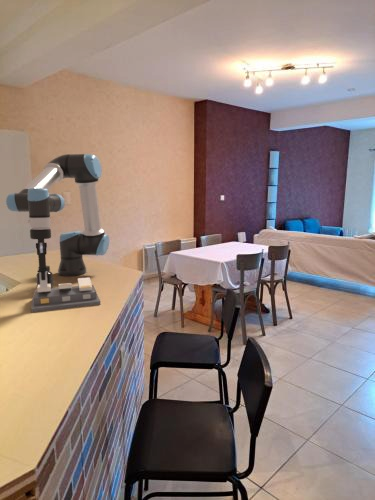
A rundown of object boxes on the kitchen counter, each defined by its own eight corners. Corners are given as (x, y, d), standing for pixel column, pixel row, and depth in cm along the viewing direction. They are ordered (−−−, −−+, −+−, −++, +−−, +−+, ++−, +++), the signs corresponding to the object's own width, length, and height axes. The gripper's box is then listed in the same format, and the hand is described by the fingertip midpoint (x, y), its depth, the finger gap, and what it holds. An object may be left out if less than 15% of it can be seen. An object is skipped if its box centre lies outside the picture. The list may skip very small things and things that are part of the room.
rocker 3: (77, 281, 152) (77, 278, 151) (89, 280, 154) (89, 277, 153) (79, 291, 144) (79, 287, 144) (92, 290, 146) (92, 286, 146)
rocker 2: (58, 287, 149) (58, 283, 149) (70, 286, 151) (70, 282, 151) (58, 289, 141) (58, 284, 141) (71, 287, 143) (71, 283, 143)
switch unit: (32, 300, 148) (31, 287, 147) (95, 293, 158) (95, 282, 157) (31, 312, 134) (30, 298, 133) (100, 304, 143) (100, 291, 142)
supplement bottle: (36, 294, 156) (34, 268, 154) (38, 290, 163) (36, 265, 160) (52, 293, 158) (51, 267, 156) (54, 289, 164) (52, 264, 162)
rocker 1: (38, 288, 146) (37, 284, 146) (50, 287, 148) (50, 283, 148) (37, 292, 138) (37, 288, 138) (51, 291, 140) (50, 286, 140)
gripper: (30, 227, 141) (34, 284, 144) (29, 230, 129) (33, 292, 132) (50, 226, 143) (53, 282, 147) (50, 229, 131) (54, 290, 135)
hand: (43, 287), depth 139 cm, fingers closed
